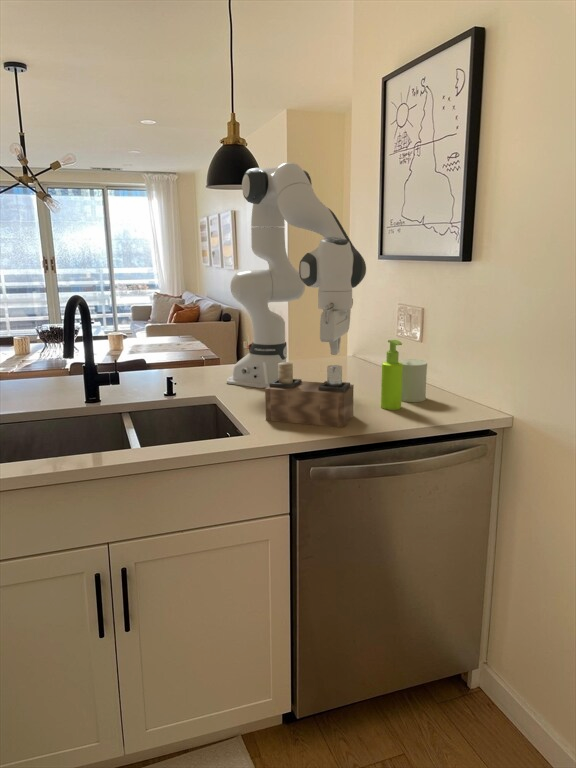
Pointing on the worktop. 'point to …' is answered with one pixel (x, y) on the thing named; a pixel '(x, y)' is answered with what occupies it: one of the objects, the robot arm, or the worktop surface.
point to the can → (413, 380)
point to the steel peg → (334, 376)
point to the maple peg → (285, 372)
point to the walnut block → (309, 403)
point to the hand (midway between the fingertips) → (335, 354)
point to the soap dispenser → (391, 379)
